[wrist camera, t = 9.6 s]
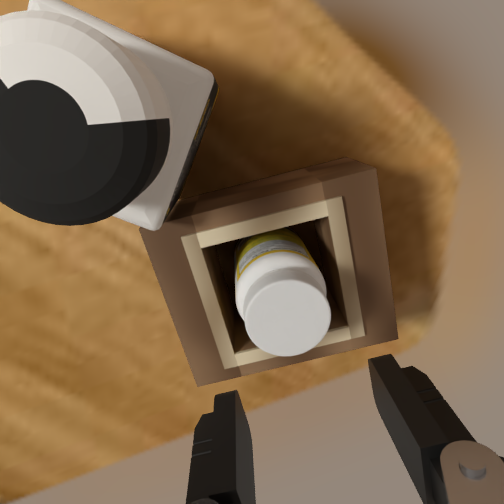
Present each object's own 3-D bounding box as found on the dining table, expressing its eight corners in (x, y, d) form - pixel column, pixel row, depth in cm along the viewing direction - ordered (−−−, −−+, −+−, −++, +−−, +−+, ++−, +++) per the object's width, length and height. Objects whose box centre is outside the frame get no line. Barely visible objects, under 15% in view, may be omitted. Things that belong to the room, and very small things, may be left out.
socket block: (203, 339, 27) (197, 389, 22) (157, 205, 23) (137, 230, 19) (369, 299, 26) (399, 341, 22) (346, 157, 23) (377, 168, 18)
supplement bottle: (294, 293, 26) (322, 372, 18) (227, 281, 25) (225, 357, 18) (313, 228, 24) (353, 283, 17) (242, 213, 24) (248, 263, 16)
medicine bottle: (178, 200, 23) (129, 281, 12) (63, 154, 22) (-111, 196, 11) (221, 85, 21) (209, 55, 10) (96, 27, 20) (-78, -83, 9)
